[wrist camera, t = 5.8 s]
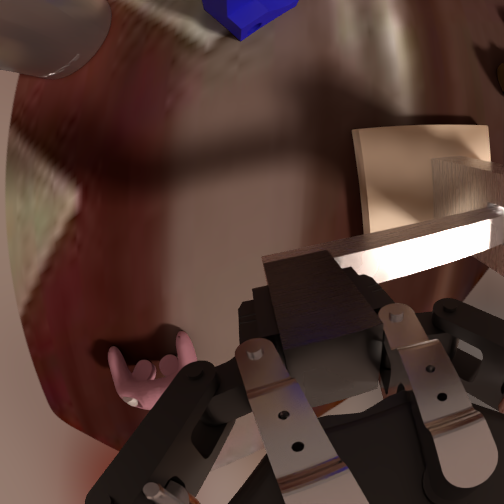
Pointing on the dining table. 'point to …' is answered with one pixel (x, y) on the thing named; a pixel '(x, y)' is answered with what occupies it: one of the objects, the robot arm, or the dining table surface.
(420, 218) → the stand
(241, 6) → the cable clip
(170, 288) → the dining table surface
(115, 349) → the video game controller
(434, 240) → the shaft
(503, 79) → the kendama
